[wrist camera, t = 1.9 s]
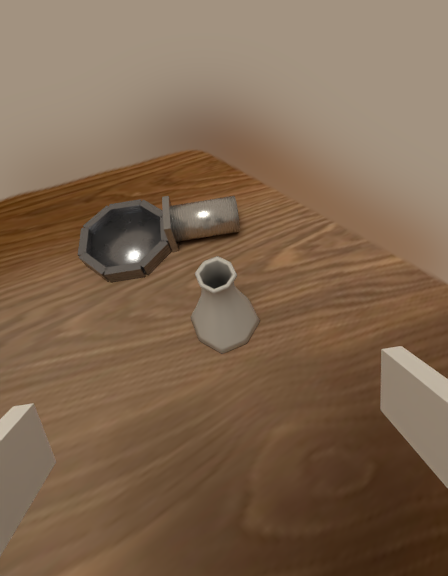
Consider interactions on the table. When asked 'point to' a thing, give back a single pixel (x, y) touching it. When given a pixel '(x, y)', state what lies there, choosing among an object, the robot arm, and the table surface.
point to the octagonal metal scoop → (149, 234)
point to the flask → (222, 308)
